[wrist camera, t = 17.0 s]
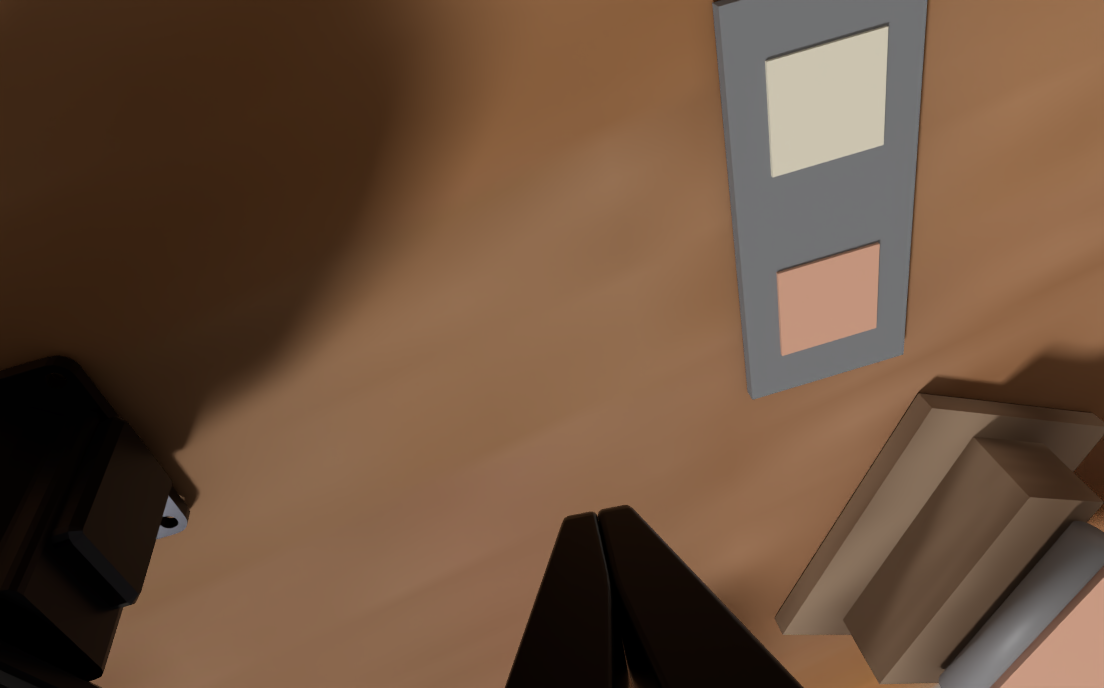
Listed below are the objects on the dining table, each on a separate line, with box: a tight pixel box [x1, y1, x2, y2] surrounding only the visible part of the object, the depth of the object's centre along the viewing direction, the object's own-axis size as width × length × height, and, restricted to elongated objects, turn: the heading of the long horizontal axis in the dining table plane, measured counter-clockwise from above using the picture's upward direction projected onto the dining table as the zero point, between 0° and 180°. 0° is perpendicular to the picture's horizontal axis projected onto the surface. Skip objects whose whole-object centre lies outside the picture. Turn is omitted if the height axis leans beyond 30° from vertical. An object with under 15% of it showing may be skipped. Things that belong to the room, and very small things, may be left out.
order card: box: [712, 0, 927, 399], centre depth 21 cm, size 5×12×1 cm, turn 13°
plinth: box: [775, 393, 1104, 684], centre depth 29 cm, size 8×12×4 cm, turn 165°
